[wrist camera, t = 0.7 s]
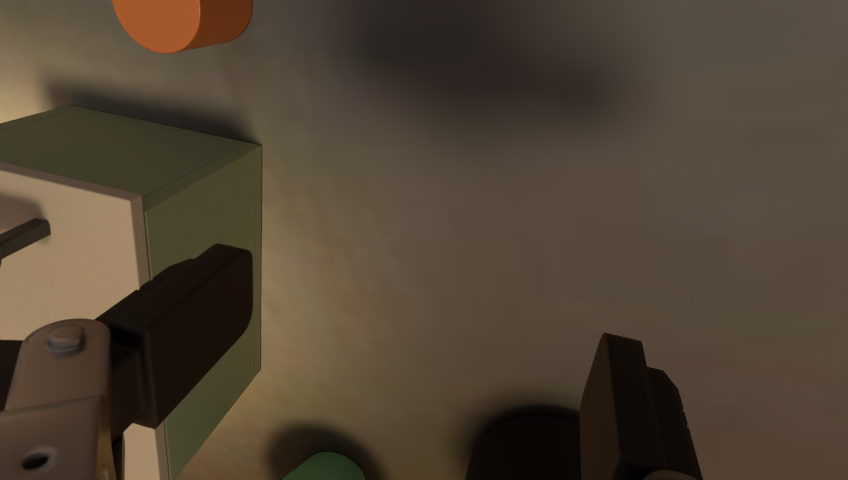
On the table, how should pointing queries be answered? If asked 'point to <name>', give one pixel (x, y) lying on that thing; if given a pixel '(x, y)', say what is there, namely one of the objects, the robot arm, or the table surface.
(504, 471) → the coffee jar
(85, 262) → the box lid
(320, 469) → the mug
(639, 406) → the robot arm
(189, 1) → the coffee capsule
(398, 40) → the table surface
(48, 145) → the pale green hollow box
